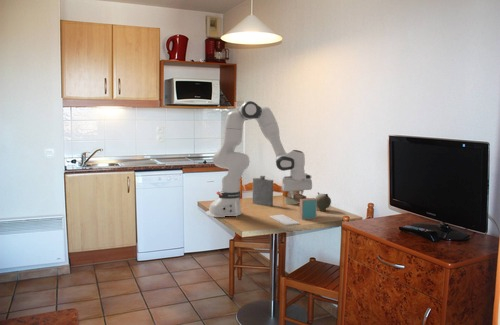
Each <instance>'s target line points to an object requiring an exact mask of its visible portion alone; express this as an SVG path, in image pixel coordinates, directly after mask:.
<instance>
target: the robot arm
mask: <svg viewBox="0 0 500 325" xmlns="http://www.w3.org/2000/svg"><path fill="white" fill-rule="evenodd" d="M225 119H226V120H225V123H224V124H225V125H224V132H223V133H224V135H223V140H222V143H221V146H220V148H219V149H218V150H217V151H216V152H215V153H214V154H213V156H212V161H213V164H214V166H216V167H218V168H221V169H227V170H228V171H227V174H226V175H225V176H223V177H222V179H221V191H218V190H217V191H216V194H217V195H218V197H217V198H216V199H215V200H214V201H212V202H211V203H210V204H209V210H206V211H205V215H206V216H207V217H211V218H226V217H225V216H236V217H238V216H240V215H242V214H243V212H242V209H241V201H240V200H241V191H240V185H241V184H240V183H241V177H242V175H243V172H244V171H245V170H246V169H248V167H249V166H250V162H251V161H250V157H249V155H248V154H245V153H243V152H240V151H235V150H236V148H237V146H239V145H240V144H241V143H242V140H243V129H244V123H245V121H249V120H255V121H257V123H258V126H259V129H260V131H261V133H262V134H263V136H264V138H265V139H267V140H268V141H269V142H270V144H271V147H272V150H273V151H274V154H275V165H276V167H277V168H278V169H279V170H280V171H282V172H283V171H284V172H285V171H289V170H290V173H289V174H290V175H289V176H283V177H282V180H281V181H282V183H281V190H282V192H283V191H290V193H291V195H292V198H295V195H294V194H293V193H294V191H299V190H300V194H301V195H304V192H305V191H309V190H311V191H312V189H313V181H312V175H311V174H308V173H305V165H306V158H305V153H304V152H303V151H301V150H298V149H293V150H291V151H290V152H286V151H285V148H284V146H283V144H282V143H283V142H281V138H280V128H279V124H278V121H277V119H276V117H275V115H274V113H273V111H272V110H271V108H270V107H268V106H264V107H261V106H260V105H258V104H257V103H256V102H254V101H251V100H249V101H245V102H243V103H242V104H241V105H240V106H239V108H238V109H237V111H236V110H234V111H233V110H232V111H229V112H228V113H227V115H226V118H225Z"/></svg>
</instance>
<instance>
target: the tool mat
mask: <svg viewBox="0 0 500 325" xmlns="http://www.w3.org/2000/svg"><path fill="white" fill-rule="evenodd" d="M269 218H271V219H273V220H275V221H277V222H278V223H279V224H280V223H281V224H282V225H284V226H294V225H295V226H296V225H300V222H299V221H297V220H294V219H293V218H290V217H289V216H287V215H285V214H274V215H269Z"/></svg>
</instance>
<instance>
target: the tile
mask: <svg viewBox="0 0 500 325" xmlns="http://www.w3.org/2000/svg"><path fill="white" fill-rule="evenodd" d="M317 207H318V206H317V199H316V197H310V198H309V197H308V198H307V197H306V199H300V202H299V211H298V212H299V215H298V218H299V220H313V219H317Z"/></svg>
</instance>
